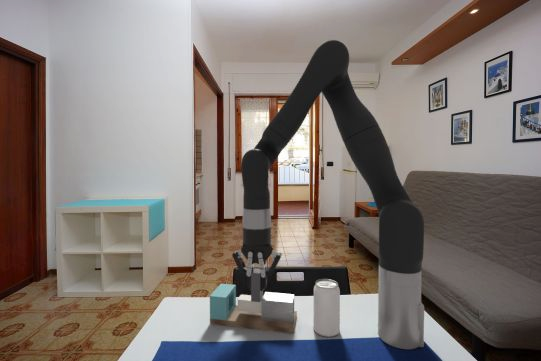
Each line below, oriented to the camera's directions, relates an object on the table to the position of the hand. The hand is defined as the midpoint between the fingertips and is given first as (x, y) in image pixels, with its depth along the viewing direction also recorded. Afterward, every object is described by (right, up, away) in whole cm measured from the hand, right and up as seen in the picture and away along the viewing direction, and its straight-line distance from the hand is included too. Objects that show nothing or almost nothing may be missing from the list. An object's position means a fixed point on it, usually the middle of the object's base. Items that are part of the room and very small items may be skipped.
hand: (257, 289), depth 73 cm
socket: (-9, -7, +2) cm, 12 cm away
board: (-1, -9, 0) cm, 9 cm away
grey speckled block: (+6, -7, -1) cm, 9 cm away
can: (+18, -9, -4) cm, 20 cm away
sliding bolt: (+2, -6, 0) cm, 6 cm away
